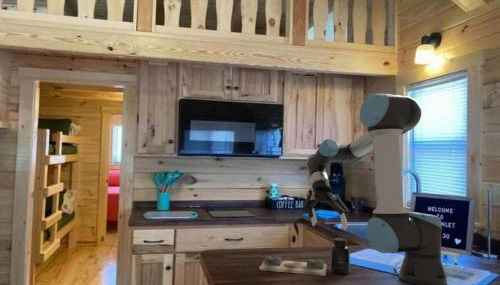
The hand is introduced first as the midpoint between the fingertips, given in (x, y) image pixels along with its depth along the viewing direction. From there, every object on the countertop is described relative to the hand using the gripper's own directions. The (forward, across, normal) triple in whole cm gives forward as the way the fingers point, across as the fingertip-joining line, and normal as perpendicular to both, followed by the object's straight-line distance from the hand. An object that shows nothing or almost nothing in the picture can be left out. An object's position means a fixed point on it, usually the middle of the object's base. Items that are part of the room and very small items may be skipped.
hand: (330, 226), depth 155 cm
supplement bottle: (+18, -1, -2) cm, 18 cm away
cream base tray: (+14, +14, -10) cm, 22 cm away
